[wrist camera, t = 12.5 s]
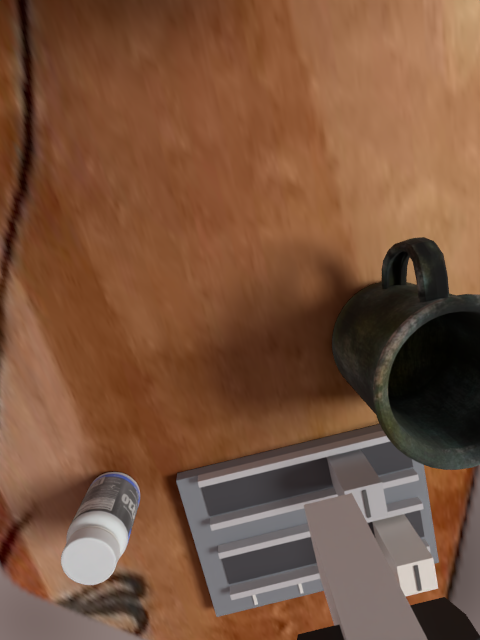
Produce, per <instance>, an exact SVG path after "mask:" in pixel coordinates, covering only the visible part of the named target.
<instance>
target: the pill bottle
mask: <svg viewBox="0 0 480 640" xmlns="http://www.w3.org/2000/svg"><path fill="white" fill-rule="evenodd" d="M139 502H140V490H139V487H138V485H137V483H136V482H135V481H134V480H133V479H132V478H131V477H130V476H128V475H126V474H124V473H120V472H108V473H104V474H102V475H100V476H98V477H97V478H96V479H95V480H94V481H93V482H92V484H91V485H90V487H89V489H88V491H87V493H86V495H85V497H84V499H83V501H82V503H81V505H80V507H79V509H78V511H77V513H76V515H75V517H74V519H73V521H72V523H71V525H70V527H69V529H68V532H67V544H66V546H65V548H64V550H63V552H62V556H61V565H62V568H63V570H64V572H65V574H66V575H67V576H68V577H69V578H70V579H72V580H73V581H75V582H77V583H80V584H84V585H95V584H98V583H101V582H103V581H105V580H106V579H108V578H109V577H110V576H111V575H112V573H113V572H114V570H115V567H116V564H117V562H118V559H119V558H120V557H121V555H122V554H123V553H124V551H125V549H126V547H127V544H128V540H129V537H130V533H131V530H132V526H133V523H134V519H135V516H136V512H137V509H138V506H139Z"/></svg>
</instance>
